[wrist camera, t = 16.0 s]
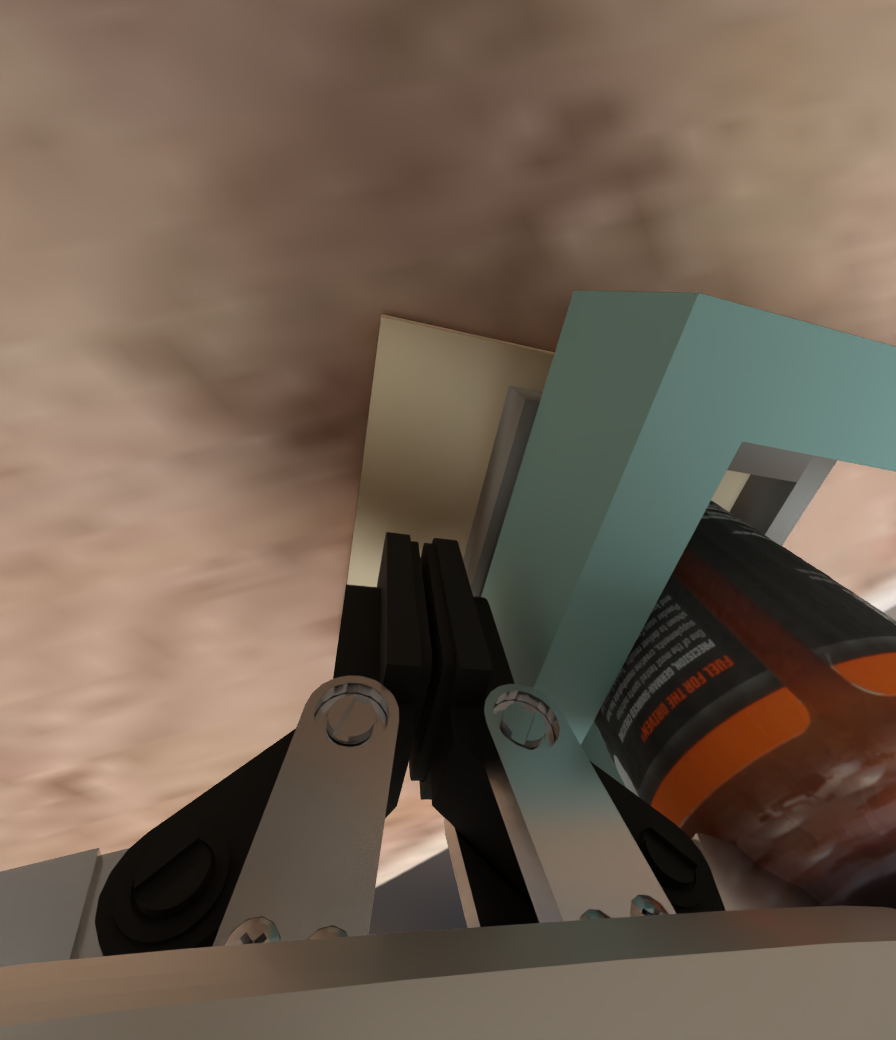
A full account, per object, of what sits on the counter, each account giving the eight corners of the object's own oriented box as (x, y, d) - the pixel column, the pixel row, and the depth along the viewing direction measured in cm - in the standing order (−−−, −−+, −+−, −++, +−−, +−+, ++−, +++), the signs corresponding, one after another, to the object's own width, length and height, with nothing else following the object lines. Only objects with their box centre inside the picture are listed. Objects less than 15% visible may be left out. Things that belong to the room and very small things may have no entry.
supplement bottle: (513, 625, 15) (747, 1253, 5) (534, 465, 12) (1116, 1172, 3) (671, 615, 16) (1134, 1151, 6) (724, 462, 13) (1751, 998, 3)
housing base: (381, 314, 11) (380, 321, 9) (777, 402, 14) (859, 426, 11) (340, 635, 16) (332, 696, 14) (638, 656, 19) (675, 710, 16)
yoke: (573, 290, 9) (699, 292, 5) (986, 396, 11) (1263, 447, 8) (439, 735, 15) (455, 874, 11) (725, 742, 17) (811, 859, 14)
